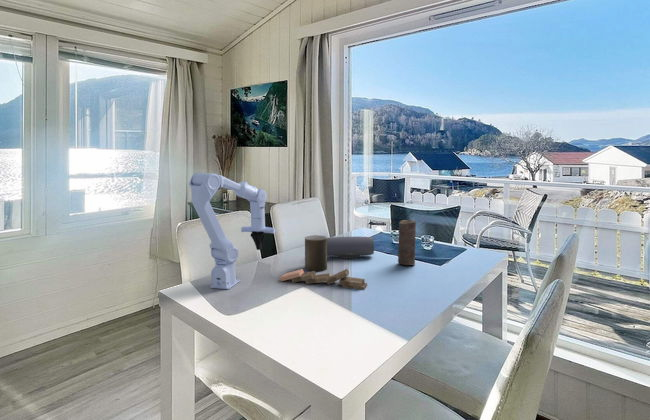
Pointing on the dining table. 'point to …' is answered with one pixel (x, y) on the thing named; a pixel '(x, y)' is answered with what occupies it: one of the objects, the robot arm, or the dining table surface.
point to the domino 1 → (291, 275)
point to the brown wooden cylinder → (407, 242)
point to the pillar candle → (316, 253)
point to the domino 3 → (318, 278)
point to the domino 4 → (338, 276)
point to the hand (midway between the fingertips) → (259, 249)
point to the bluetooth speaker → (350, 246)
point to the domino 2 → (304, 277)
